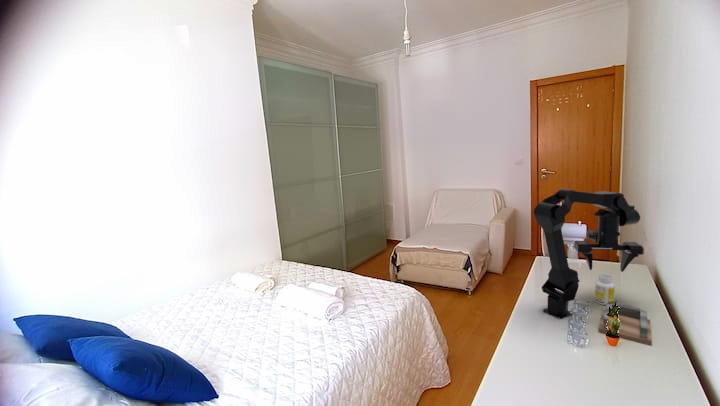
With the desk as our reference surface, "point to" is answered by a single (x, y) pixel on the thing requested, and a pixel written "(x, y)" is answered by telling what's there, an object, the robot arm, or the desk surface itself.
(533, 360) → the desk surface
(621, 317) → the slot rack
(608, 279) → the supplement bottle
